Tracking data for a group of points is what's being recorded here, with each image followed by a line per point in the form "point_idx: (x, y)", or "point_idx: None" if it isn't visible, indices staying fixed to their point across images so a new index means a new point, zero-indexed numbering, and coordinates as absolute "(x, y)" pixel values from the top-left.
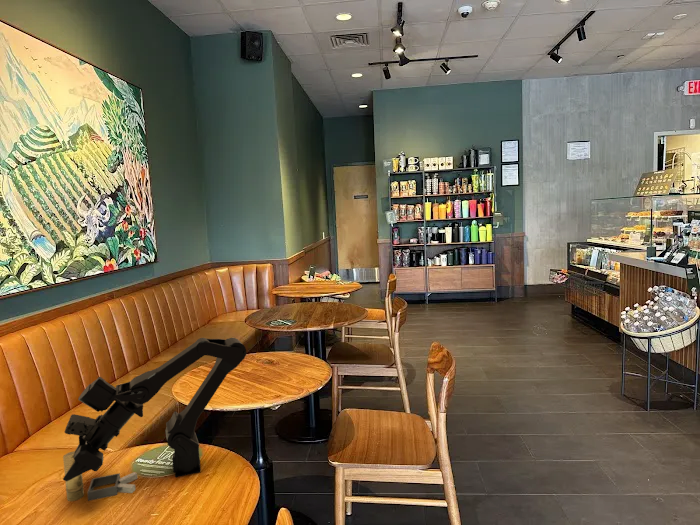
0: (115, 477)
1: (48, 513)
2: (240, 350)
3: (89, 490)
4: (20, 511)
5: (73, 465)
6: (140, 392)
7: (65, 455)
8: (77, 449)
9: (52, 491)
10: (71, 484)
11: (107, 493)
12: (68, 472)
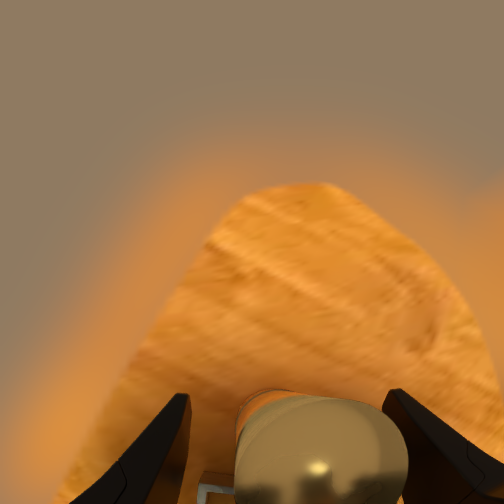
0: None
1: (195, 325)
2: None
3: (214, 491)
4: (270, 226)
5: (90, 492)
6: None
7: (351, 417)
8: (456, 474)
9: (371, 317)
10: (237, 425)
11: None
12: (141, 438)
